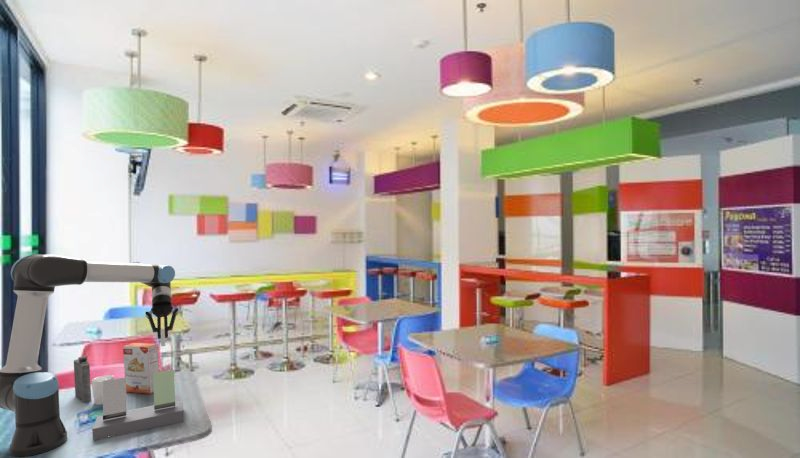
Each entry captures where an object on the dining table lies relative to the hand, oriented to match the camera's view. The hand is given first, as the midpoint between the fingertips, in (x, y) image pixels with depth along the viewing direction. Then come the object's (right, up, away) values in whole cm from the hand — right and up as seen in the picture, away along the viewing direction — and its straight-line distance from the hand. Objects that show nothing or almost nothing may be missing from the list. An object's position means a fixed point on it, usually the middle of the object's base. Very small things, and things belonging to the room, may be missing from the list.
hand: (163, 344), depth 185 cm
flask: (-39, -26, +9) cm, 48 cm away
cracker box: (-17, -25, +15) cm, 34 cm away
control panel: (+3, -24, -20) cm, 32 cm away
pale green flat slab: (+10, -19, -17) cm, 27 cm away
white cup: (-27, -25, +4) cm, 37 cm away
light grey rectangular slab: (-5, -19, -24) cm, 31 cm away
